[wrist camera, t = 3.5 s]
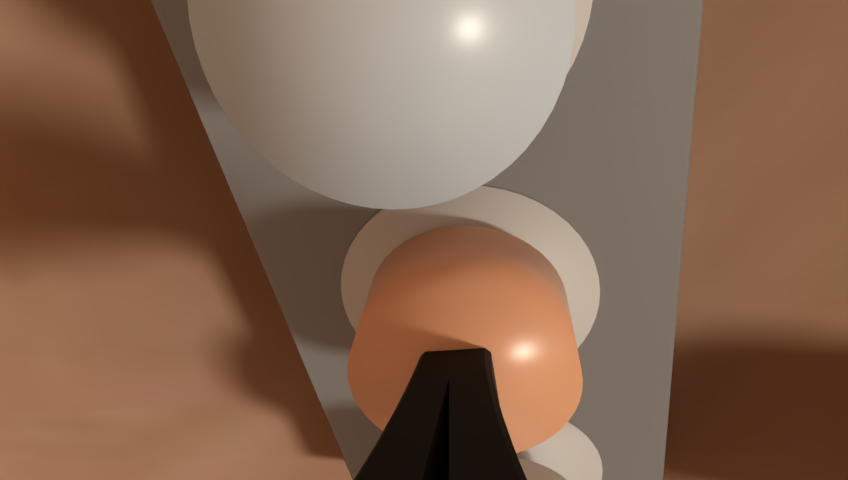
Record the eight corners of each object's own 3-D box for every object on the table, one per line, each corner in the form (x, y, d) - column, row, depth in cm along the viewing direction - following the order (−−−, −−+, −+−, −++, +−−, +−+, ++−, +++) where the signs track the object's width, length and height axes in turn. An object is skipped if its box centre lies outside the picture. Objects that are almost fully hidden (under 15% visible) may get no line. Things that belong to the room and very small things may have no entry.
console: (636, 460, 20) (658, 541, 18) (389, 465, 22) (376, 539, 20) (668, -327, 9) (740, -424, 6) (161, -183, 11) (57, -211, 8)
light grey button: (561, 127, 9) (581, 189, 7) (309, 163, 10) (265, 225, 8) (543, -221, 7) (566, -275, 5) (213, -134, 8) (115, -149, 6)
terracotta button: (571, 374, 13) (585, 456, 11) (392, 383, 14) (376, 461, 12) (562, 214, 11) (578, 282, 9) (347, 237, 12) (318, 304, 10)
